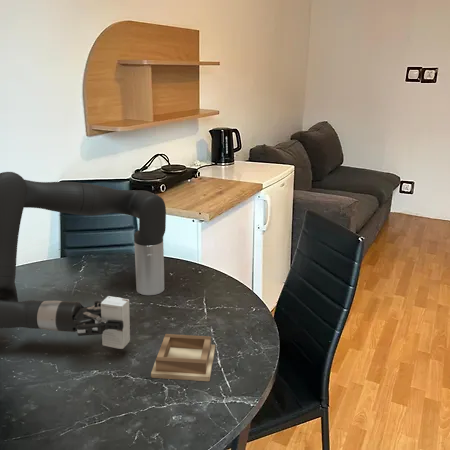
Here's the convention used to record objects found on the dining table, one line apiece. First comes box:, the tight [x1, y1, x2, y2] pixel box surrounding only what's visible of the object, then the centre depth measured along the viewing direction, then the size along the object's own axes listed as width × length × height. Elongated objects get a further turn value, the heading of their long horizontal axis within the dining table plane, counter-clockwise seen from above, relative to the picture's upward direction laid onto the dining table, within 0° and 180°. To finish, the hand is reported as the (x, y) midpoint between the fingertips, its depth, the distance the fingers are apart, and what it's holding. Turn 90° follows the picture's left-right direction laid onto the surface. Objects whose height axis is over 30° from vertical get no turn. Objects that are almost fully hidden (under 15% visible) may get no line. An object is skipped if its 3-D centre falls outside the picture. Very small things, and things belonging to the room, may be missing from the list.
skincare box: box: [101, 295, 131, 350], centre depth 121 cm, size 6×4×12 cm
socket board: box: [150, 333, 216, 382], centre depth 119 cm, size 14×14×4 cm
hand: (125, 319), depth 120 cm, fingers closed on skincare box, 5 cm apart
